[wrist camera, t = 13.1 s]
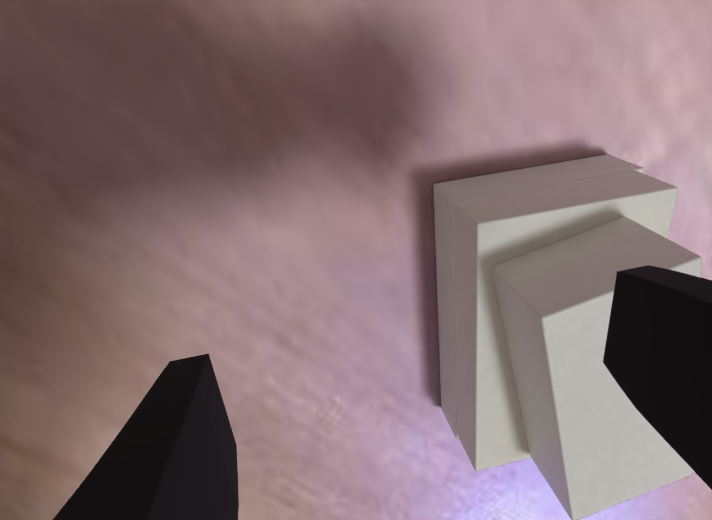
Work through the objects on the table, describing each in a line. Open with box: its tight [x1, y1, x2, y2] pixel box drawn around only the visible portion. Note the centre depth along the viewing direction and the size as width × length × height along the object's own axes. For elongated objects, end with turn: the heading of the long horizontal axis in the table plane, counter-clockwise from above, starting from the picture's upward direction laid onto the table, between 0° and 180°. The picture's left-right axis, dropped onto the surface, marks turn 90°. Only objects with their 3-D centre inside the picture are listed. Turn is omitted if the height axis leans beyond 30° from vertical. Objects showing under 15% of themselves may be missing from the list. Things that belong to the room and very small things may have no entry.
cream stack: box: [433, 154, 678, 471], centre depth 19 cm, size 7×11×4 cm, turn 6°
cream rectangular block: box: [492, 217, 702, 520], centre depth 16 cm, size 4×9×3 cm, turn 18°
